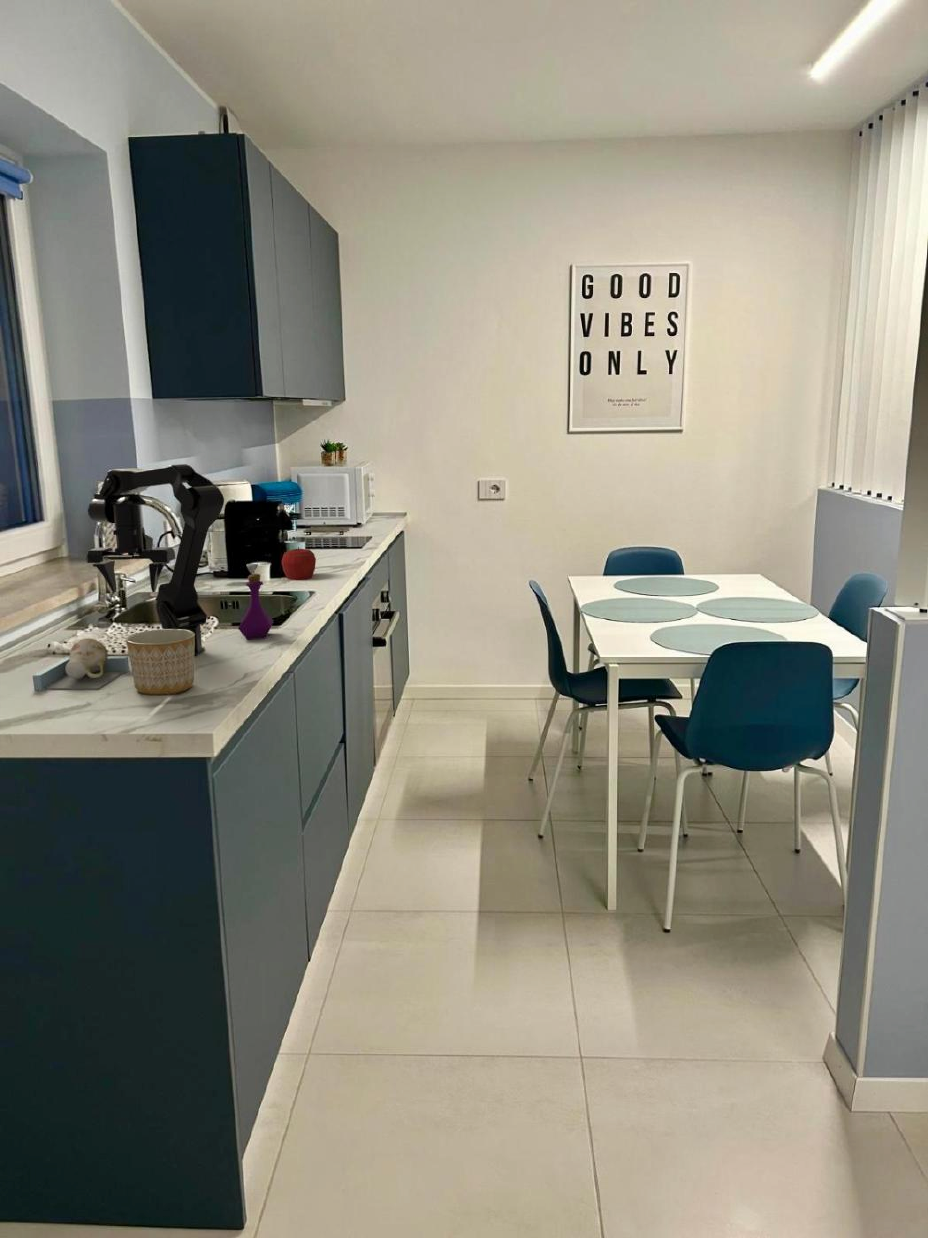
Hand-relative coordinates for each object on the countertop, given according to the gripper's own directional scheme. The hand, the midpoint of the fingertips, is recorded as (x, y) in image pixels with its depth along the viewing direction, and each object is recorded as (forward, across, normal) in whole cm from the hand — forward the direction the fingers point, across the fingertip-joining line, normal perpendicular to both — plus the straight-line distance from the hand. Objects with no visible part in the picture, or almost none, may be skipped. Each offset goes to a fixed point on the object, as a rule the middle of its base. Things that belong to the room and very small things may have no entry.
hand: (134, 592), depth 215 cm
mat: (+12, -1, +30) cm, 33 cm away
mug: (+13, -2, +31) cm, 34 cm away
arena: (+12, +6, +23) cm, 27 cm away
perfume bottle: (+13, -26, -7) cm, 30 cm away
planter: (+13, -19, +35) cm, 42 cm away
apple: (+13, -20, -81) cm, 84 cm away
